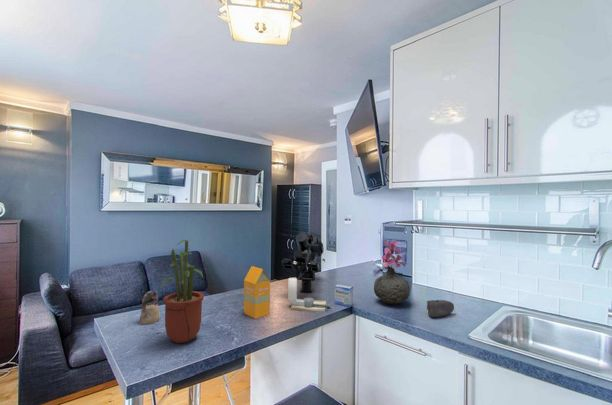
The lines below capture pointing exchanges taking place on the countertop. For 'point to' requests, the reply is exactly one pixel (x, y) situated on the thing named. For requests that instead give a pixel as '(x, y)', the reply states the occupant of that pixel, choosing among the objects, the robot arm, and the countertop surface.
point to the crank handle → (293, 295)
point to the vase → (391, 279)
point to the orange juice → (256, 293)
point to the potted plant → (183, 303)
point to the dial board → (314, 308)
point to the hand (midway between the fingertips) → (297, 279)
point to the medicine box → (343, 295)
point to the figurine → (149, 309)
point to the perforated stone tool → (439, 308)
